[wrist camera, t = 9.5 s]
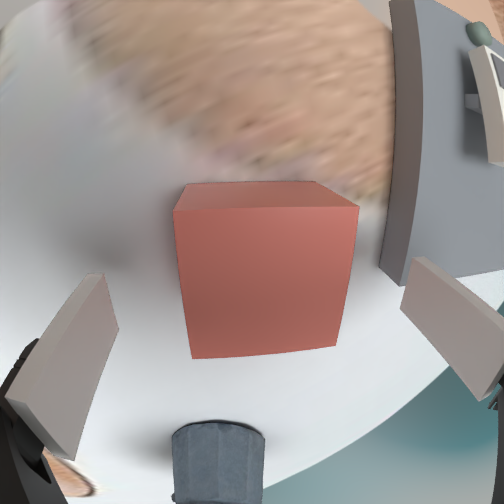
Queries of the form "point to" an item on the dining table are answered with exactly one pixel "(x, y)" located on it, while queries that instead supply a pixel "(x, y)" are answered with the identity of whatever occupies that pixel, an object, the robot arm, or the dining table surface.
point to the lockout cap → (263, 266)
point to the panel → (441, 148)
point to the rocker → (491, 98)
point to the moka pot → (217, 464)
